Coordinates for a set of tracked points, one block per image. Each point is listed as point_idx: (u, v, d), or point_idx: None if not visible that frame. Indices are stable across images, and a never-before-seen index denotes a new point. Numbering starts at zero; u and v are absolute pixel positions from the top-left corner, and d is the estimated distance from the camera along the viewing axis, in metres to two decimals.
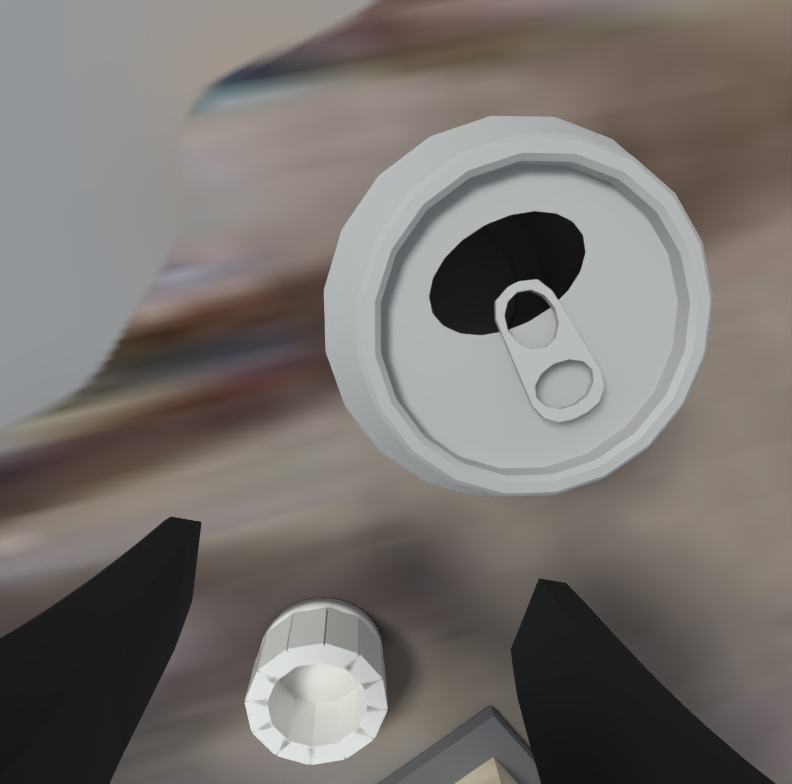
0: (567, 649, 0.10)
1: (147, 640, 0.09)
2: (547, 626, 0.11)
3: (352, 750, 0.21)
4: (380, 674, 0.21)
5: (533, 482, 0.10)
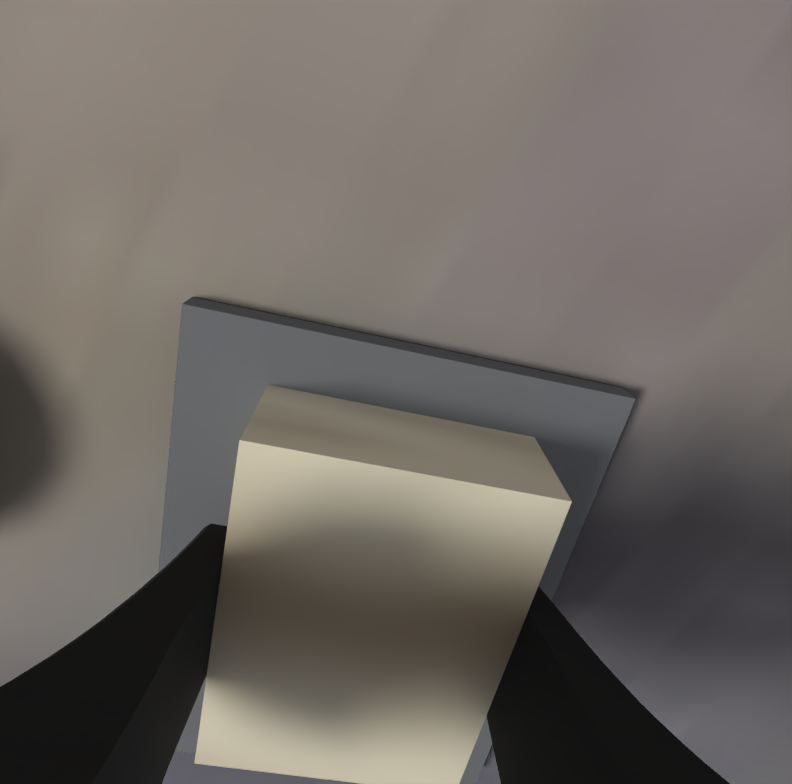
0: (526, 643, 0.10)
1: (195, 647, 0.09)
2: None
3: None
4: None
5: None
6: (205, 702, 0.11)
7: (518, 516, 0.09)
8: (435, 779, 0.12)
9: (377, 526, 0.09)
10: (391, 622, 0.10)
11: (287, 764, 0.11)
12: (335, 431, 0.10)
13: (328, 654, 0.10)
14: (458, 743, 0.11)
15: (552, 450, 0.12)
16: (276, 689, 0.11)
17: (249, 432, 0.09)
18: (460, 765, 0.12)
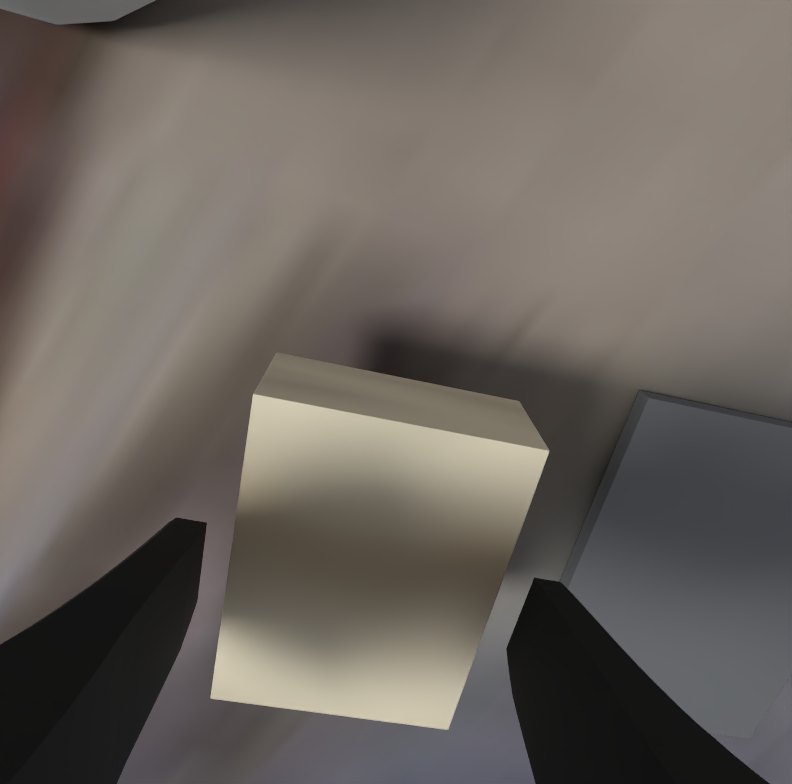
0: (562, 648, 0.10)
1: (154, 641, 0.09)
2: (542, 625, 0.11)
3: None
4: None
5: None
6: (220, 639, 0.12)
7: (502, 464, 0.10)
8: (430, 714, 0.13)
9: (375, 474, 0.10)
10: (389, 563, 0.11)
11: (295, 699, 0.13)
12: (338, 390, 0.11)
13: (332, 594, 0.11)
14: (450, 679, 0.12)
15: None
16: (285, 627, 0.12)
17: (261, 388, 0.10)
18: (452, 701, 0.13)
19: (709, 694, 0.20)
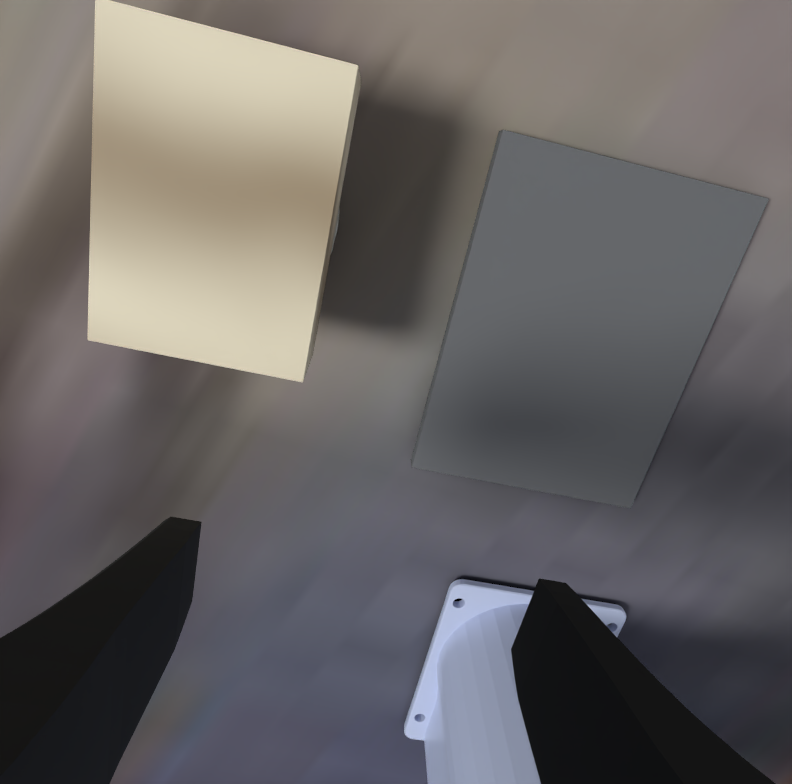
0: (567, 649, 0.10)
1: (147, 640, 0.09)
2: (547, 626, 0.11)
3: None
4: None
5: None
6: (91, 272, 0.14)
7: (318, 79, 0.12)
8: (285, 364, 0.14)
9: (209, 87, 0.12)
10: (231, 189, 0.13)
11: (162, 343, 0.14)
12: None
13: (184, 222, 0.13)
14: (299, 323, 0.14)
15: (713, 235, 0.18)
16: (146, 259, 0.13)
17: None
18: (304, 349, 0.14)
19: (588, 457, 0.21)
